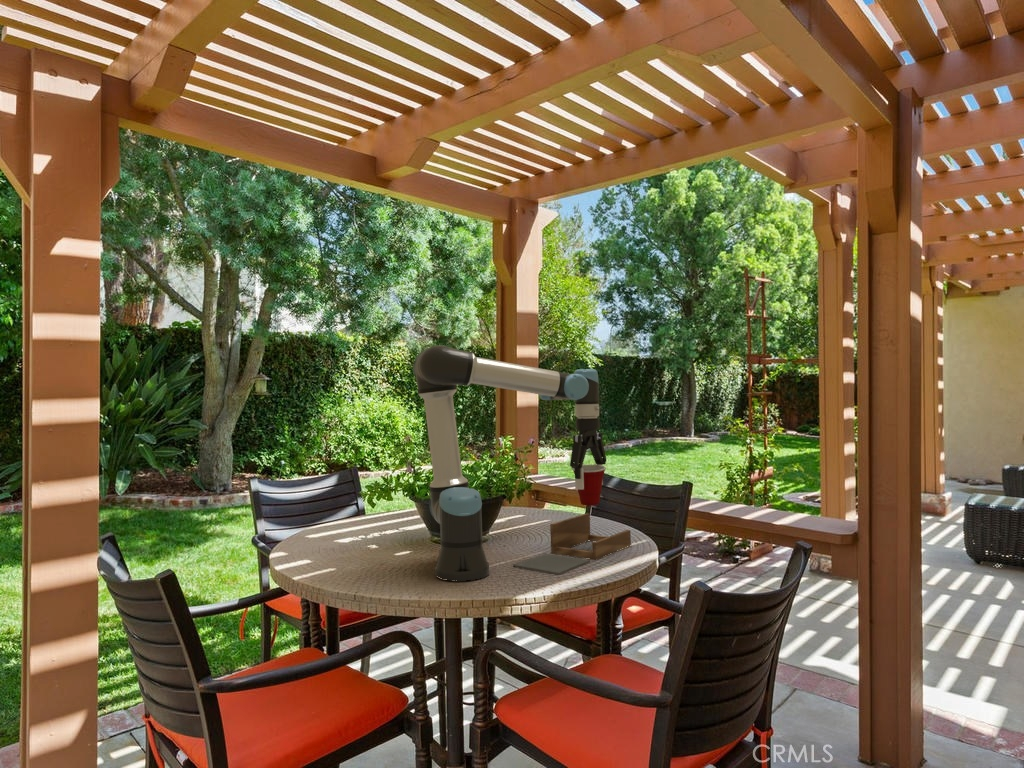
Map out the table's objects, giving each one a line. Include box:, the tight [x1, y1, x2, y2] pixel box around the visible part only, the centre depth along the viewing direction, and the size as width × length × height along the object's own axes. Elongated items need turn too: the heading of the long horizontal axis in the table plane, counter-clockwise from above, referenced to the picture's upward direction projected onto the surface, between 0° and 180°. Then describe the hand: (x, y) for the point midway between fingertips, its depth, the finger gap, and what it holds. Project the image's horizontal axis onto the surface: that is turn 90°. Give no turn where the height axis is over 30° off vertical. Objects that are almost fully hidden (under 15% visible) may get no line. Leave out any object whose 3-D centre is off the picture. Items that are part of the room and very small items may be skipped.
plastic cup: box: [571, 464, 607, 506], centre depth 208 cm, size 11×11×12 cm
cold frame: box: [549, 513, 632, 560], centre depth 208 cm, size 16×21×9 cm
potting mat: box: [512, 553, 591, 576], centre depth 190 cm, size 16×16×1 cm
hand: (589, 486), depth 208 cm, fingers closed on plastic cup, 11 cm apart
